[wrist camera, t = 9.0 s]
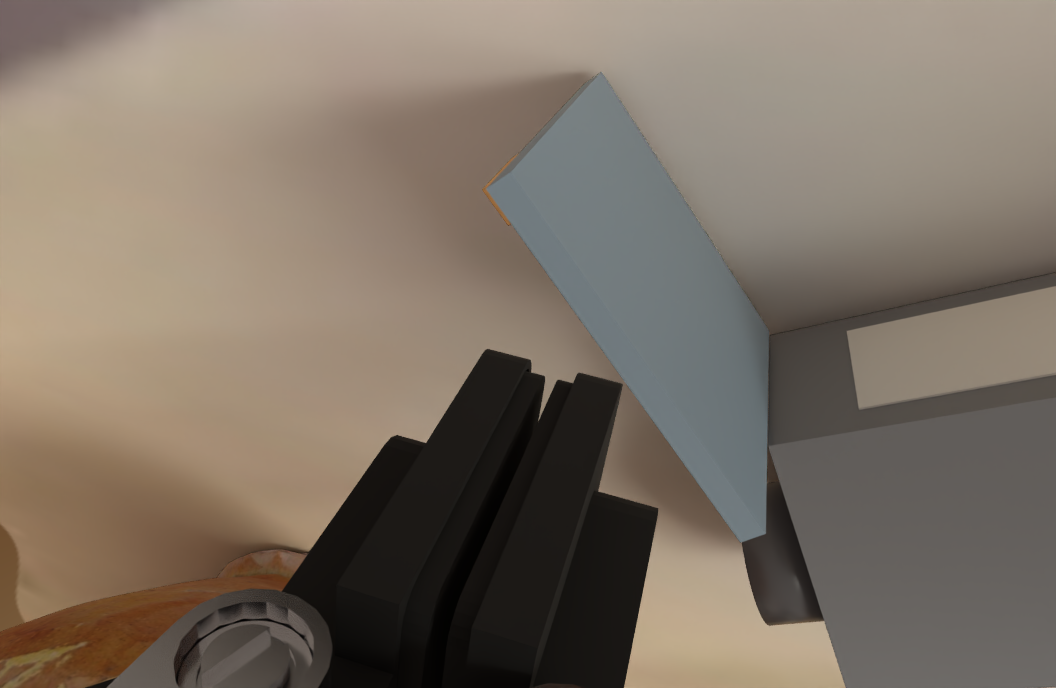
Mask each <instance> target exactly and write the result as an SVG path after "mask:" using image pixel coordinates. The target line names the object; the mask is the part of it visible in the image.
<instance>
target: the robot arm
mask: <svg viewBox="0 0 1056 688" xmlns="http://www.w3.org/2000/svg"><path fill="white" fill-rule="evenodd" d="M544 384H545V376H542V375H539V374H535V373H531V360H528V359H524V358H521V357H517V356H513V355H509V354H505V353H501V352H497V351H494V350H490V349H486V350H485V351H484V353H483V354H482V356H481V357H480V359H479V360H478V362H477V363H476V365H475V367H474V368H473V370H472V371H471V373H470V375H469V376H468V378H467V379H466V381H465V382H464V384H463V386H462V387H461V389H460V390H459V392H458V394H457V395H456V397H455V398H454V400H453V401H452V403H451V405H450V406H449V408H448V409H447V411H446V413H445V414H444V416H443V417H442V419H441V420H440V422H439V424H438V425H437V427H436V428H435V430H434V432H433V433H432V435H431V436H430V438H429V439H428V441H427V443H423V442H420V441H416V440H413V439H409V438H406V437H402V436H398V435H396V436H393V437H391V438H390V439H389V441H388V442H387V443H386V444H385V445H384V446H383V448H382V449H381V451H380V452H379V454H378V455H377V456H376V458H375V459H374V461H373V462H372V464H371V465H370V466H369V468H368V469H367V471H366V472H365V473H364V475H363V476H362V478H361V479H360V481H359V482H358V483H357V485H356V486H355V488H354V489H353V491H352V492H351V493H350V495H349V496H348V498H347V499H346V501H345V502H344V503H343V505H342V506H341V508H340V509H339V510H338V512H337V513H336V515H335V516H334V518H333V519H332V520H331V522H330V523H329V525H328V526H327V528H326V529H325V530H324V532H323V533H322V535H321V536H320V537H319V539H318V540H317V542H316V543H315V545H314V546H313V547H312V549H311V550H310V552H309V553H308V555H307V556H306V557H305V559H304V560H303V562H302V563H301V565H300V566H299V567H298V569H297V570H296V572H295V573H294V574H293V576H292V577H291V579H290V580H289V582H288V583H287V584H286V586H285V587H284V589H283V590H282V591H279V590H273V589H252V588H250V589H245V590H239V591H234V592H229V593H224V594H222V595H219V596H217V597H215V598H212V599H210V600H208V601H205V602H203V603H200V604H199V605H198V606H196V607H195V608H193V609H192V610H191V611H189V612H188V613H187V614H185V615H184V616H183V617H181V618H180V619H178V620H177V621H176V622H175V623H174V624H173V625H172V626H171V627H170V628H169V629H168V630H167V631H166V632H165V633H164V634H163V635H162V636H160V637H159V638H158V639H157V640H156V641H155V642H154V643H153V644H152V645H151V646H150V647H149V648H148V649H147V650H146V651H145V652H144V653H142V654H141V655H140V656H139V657H138V658H137V659H136V660H135V661H134V662H133V663H132V664H131V665H130V666H129V667H128V668H127V669H126V670H124V671H123V672H122V673H121V674H120V675H119V676H118V677H116V678H113V679H110V680H107V681H104V682H101V683H98V684H95V685H92V686H88V687H85V688H624V684H625V679H626V674H627V669H628V664H629V659H630V654H631V649H632V643H633V638H634V633H635V628H636V623H637V618H638V613H639V608H640V603H641V598H642V593H643V587H644V582H645V577H646V572H647V567H648V562H649V557H650V552H651V547H652V542H653V537H654V532H655V526H656V521H657V516H658V508H655V507H651V506H648V505H644V504H641V503H637V502H633V501H630V500H626V499H623V498H619V497H616V496H612V495H608V494H605V493H601V492H598V489H599V485H600V481H601V476H602V472H603V468H604V464H605V459H606V455H607V451H608V446H609V442H610V438H611V434H612V429H613V425H614V421H615V417H616V412H617V408H618V404H619V399H620V395H621V390H622V384H621V383H617V382H613V381H609V380H606V379H602V378H598V377H594V376H590V375H586V374H582V373H578V374H577V376H576V378H575V380H574V383H569V382H565V381H562V380H557V382H556V384H555V386H554V388H553V391H552V393H551V395H550V397H549V399H548V402H547V404H546V406H545V408H544V411H543V413H542V415H541V417H540V419H539V414H540V408H541V402H542V396H543V391H544ZM538 419H539V422H538Z"/></svg>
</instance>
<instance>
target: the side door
mask: <svg viewBox="0 0 1056 688" xmlns="http://www.w3.org/2000/svg"><path fill="white" fill-rule="evenodd" d="M482 190H483V192H484V193H485V194H486V196H487V197H488V199H489V200H490V201H491V203H492V204H493V205H494V207H495V208H496V210H497V211H498V212H499V214H500V215H501V217H502V218H503V219H504V221H505V222H506V224H507V225H508V226H509V225H510V224H512V226H513V227H514V229H515V230H516V231H517V233H518V234H519V236H520V237H521V238H522V240H523V241H524V243H525V244H526V245H527V247H528V248H529V249H530V251H531V252H532V254H533V255H534V256H535V258H536V259H537V261H538V262H539V263H540V265H541V266H542V268H543V269H544V270H545V272H546V273H547V274H548V276H549V277H550V279H551V280H552V281H553V283H554V284H555V286H556V287H557V288H558V290H559V291H560V293H561V294H562V295H563V297H564V298H565V300H566V301H567V302H568V304H569V305H570V306H571V308H572V309H573V311H574V312H575V313H576V315H577V316H578V318H579V319H580V320H581V322H582V323H583V325H584V326H585V327H586V329H587V330H588V331H589V333H590V334H591V336H592V337H593V338H594V340H595V341H596V343H597V344H598V345H599V347H600V348H601V350H602V351H603V352H604V354H605V355H606V357H607V358H608V359H609V361H610V362H611V363H612V365H613V366H614V368H615V369H616V370H617V372H618V373H619V375H620V376H621V377H622V379H623V380H624V382H625V383H626V384H627V386H628V387H629V388H630V390H631V391H632V393H633V394H634V395H635V397H636V398H637V400H638V401H639V402H640V404H641V405H642V407H643V408H644V409H645V411H646V412H647V414H648V415H649V416H650V418H651V419H652V420H653V422H654V423H655V425H656V426H657V427H658V429H659V430H660V432H661V433H662V434H663V436H664V437H665V439H666V440H667V441H668V443H669V444H670V445H671V447H672V448H673V450H674V451H675V452H676V454H677V455H678V457H679V458H680V459H681V461H682V462H683V464H684V465H685V466H686V468H687V469H688V471H689V472H690V473H691V475H692V476H693V477H694V479H695V480H696V482H697V483H698V484H699V486H700V487H701V489H702V490H703V491H704V493H705V494H706V496H707V497H708V498H709V500H710V501H711V502H712V504H713V505H714V507H715V508H716V509H717V511H718V512H719V514H720V515H721V516H722V518H723V519H724V521H725V522H726V523H727V525H728V526H729V528H730V529H731V530H732V532H733V533H734V534H735V536H736V537H737V539H738V540H739V541H740V543H741V542H744V541H747V540H749V539H752V538H755V537H758V536H761V535H764V534H766V494H767V431H768V369H769V330H768V328H767V327H766V325H765V324H764V322H763V320H762V319H761V317H760V316H759V314H758V313H757V311H756V310H755V308H754V307H753V305H752V303H751V302H750V300H749V299H748V297H747V296H746V294H745V293H744V291H743V290H742V288H741V286H740V285H739V283H738V282H737V280H736V279H735V277H734V276H733V274H732V273H731V271H730V269H729V268H728V266H727V265H726V263H725V262H724V260H723V259H722V257H721V256H720V254H719V252H718V251H717V249H716V248H715V246H714V245H713V243H712V242H711V240H710V239H709V237H708V235H707V234H706V232H705V231H704V229H703V228H702V226H701V225H700V223H699V222H698V220H697V218H696V217H695V215H694V214H693V212H692V211H691V209H690V208H689V206H688V205H687V203H686V201H685V200H684V198H683V197H682V195H681V194H680V192H679V191H678V189H677V188H676V186H675V184H674V183H673V181H672V180H671V178H670V177H669V175H668V174H667V172H666V171H665V169H664V167H663V166H662V164H661V163H660V161H659V160H658V158H657V157H656V155H655V154H654V152H653V151H652V149H651V147H650V146H649V144H648V143H647V141H646V140H645V138H644V137H643V135H642V134H641V132H640V130H639V129H638V127H637V126H636V124H635V123H634V121H633V120H632V118H631V117H630V115H629V113H628V112H627V110H626V109H625V107H624V106H623V104H622V103H621V101H620V100H619V98H618V96H617V95H616V93H615V92H614V90H613V89H612V87H611V86H610V84H609V83H608V81H607V79H606V78H605V76H604V75H603V73H602V72H600V73H599V74H597V75H596V76H595V77H593V78H592V79H590V80H589V81H588V82H586V83H585V84H584V85H583V86H582V87H581V88H580V89H579V90H578V91H577V92H576V93H575V94H574V95H573V96H572V97H571V98H570V100H569V101H568V102H567V103H566V104H565V105H564V106H563V107H562V108H561V109H560V110H559V111H558V112H557V113H556V114H555V116H554V117H553V118H552V119H551V120H550V121H549V122H548V123H547V124H546V125H545V126H544V127H543V128H542V129H541V130H540V132H539V133H538V134H537V135H536V136H535V137H534V138H533V139H532V140H531V141H530V142H529V143H528V144H527V145H526V147H525V148H524V149H523V150H522V151H521V152H520V153H518V154H517V155H516V156H514V157H513V158H511V160H510V161H509V162H508V163H507V164H506V165H505V166H504V167H503V168H502V169H501V170H500V171H499V172H498V173H497V174H496V175H495V176H494V177H493V179H492V180H491V181H490V182H489V183H488V184H487V185H486V186H485V187H484V188H483V189H482Z"/></svg>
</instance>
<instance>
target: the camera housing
mask: <svg viewBox="0 0 1056 688" xmlns="http://www.w3.org/2000/svg"><path fill="white" fill-rule="evenodd" d="M768 447H769V451H770V454H771V457H772V460H773V463H774V466H775V469H776V472H777V475H778V478H779V481H777V482H771V483H767V494H766V534H764V535H761V536H758V537H755V538H752V539H749V540H747V541H744V542H742V547H743V553H744V558H745V564H746V568H747V573H748V577H749V581H750V585H751V589H752V592H753V596H754V599H755V602H756V605H757V607H758V610H759V612H760V614H761V616H762V618H763V620H764V621H765V623H766V624H767V625H770V626H771V625H782V624H794V623H805V622H817V621H825V624H826V628H827V631H828V634H829V637H830V640H831V643H832V646H833V649H834V652H835V656H836V659H837V662H838V665H839V668H840V671H841V674H842V677H843V680H844V683H845V687H846V688H1040V687H1056V273H1052V274H1047V275H1043V276H1038V277H1034V278H1029V279H1025V280H1020V281H1016V282H1011V283H1006V284H1002V285H997V286H993V287H988V288H984V289H979V290H975V291H970V292H965V293H961V294H956V295H952V296H947V297H943V298H938V299H934V300H929V301H925V302H920V303H915V304H911V305H906V306H902V307H897V308H893V309H888V310H884V311H879V312H875V313H870V314H865V315H861V316H856V317H852V318H847V319H843V320H838V321H834V322H829V323H825V324H820V325H815V326H811V327H806V328H802V329H797V330H793V331H788V332H784V333H779V334H774V335H770V348H769V416H768Z"/></svg>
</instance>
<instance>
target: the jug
mask: <svg viewBox="0 0 1056 688" xmlns="http://www.w3.org/2000/svg"><path fill="white" fill-rule="evenodd" d="M307 555H308V553H301V554H299V553H295V552H291V551H287V550H278V549H276V550H267V551H259V552H255V553H251V554H247V555H245V556H243V557H240V558H238V559H236V560H234V561H231V562H230V563H229V564H228V565H227V566H226V567H225V568H224V569H223V570H222V572H221V573H220V574H219V575H218V577H217V578H212V579H205V580H198V581H191V582H185V583H178V584H173V585H168V586H163V587H158V588H153V589H148V590H143V591H138V592H133V593H127V594H123V595H118V596H114V597H109V598H105V599H100V600H96V601H91V602H87V603H83V604H80V605H77V606H73V607H70V608H67V609H64V610H61V611H58V612H55V613H52V614H49V615H46V616H43V617H41V618H38V619H35V620H32V621H29V622H26V623H23V624H20V625H18V626H15V627H12V628H9V629H6V630H3V631H1V632H0V688H85V687H88V686H92V685H95V684H98V683H101V682H104V681H107V680H110V679H113V678H116V677H118V676H119V675H120V674H121V673H122V672H123V671H124V670H126V669H127V668H128V667H129V666H130V665H131V664H132V663H133V662H134V661H135V660H136V659H137V658H138V657H139V656H140V655H141V654H142V653H144V652H145V651H146V650H147V649H148V648H149V647H150V646H151V645H152V644H153V643H154V642H155V641H156V640H157V639H158V638H159V637H160V636H162V635H163V634H164V633H165V632H166V631H167V630H168V629H169V628H170V627H171V626H172V625H173V624H174V623H175V622H176V621H177V620H178V619H180V618H181V617H183V616H184V615H185V614H187V613H188V612H189V611H191V610H192V609H193V608H195V607H196V606H198V605H199V604H200V603H203V602H205V601H208V600H210V599H212V598H215V597H217V596H219V595H222V594H224V593H229V592H234V591H239V590H245V589H250V588H252V589H273V590H279V591H282V590H283V589H284V587H285V586H286V584H287V583H288V582H289V580H290V579H291V577H292V576H293V574H294V573H295V572H296V570H297V569H298V567H299V566H300V565H301V563H302V562H303V560H304V559H305V557H306V556H307Z"/></svg>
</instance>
